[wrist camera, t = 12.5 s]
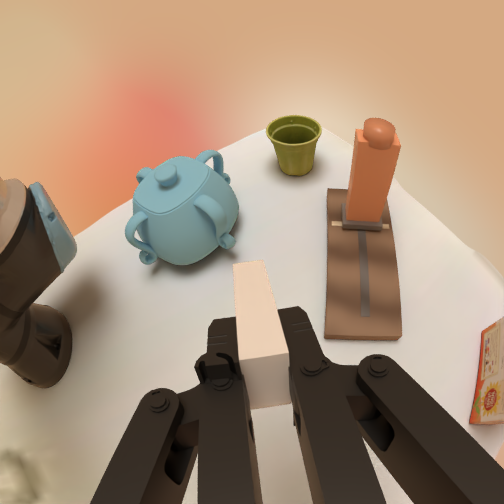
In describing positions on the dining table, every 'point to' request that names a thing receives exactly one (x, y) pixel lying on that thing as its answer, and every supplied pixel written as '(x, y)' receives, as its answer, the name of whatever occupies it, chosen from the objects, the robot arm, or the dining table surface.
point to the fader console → (361, 278)
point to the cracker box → (490, 377)
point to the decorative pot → (182, 210)
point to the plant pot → (294, 142)
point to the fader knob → (370, 175)
